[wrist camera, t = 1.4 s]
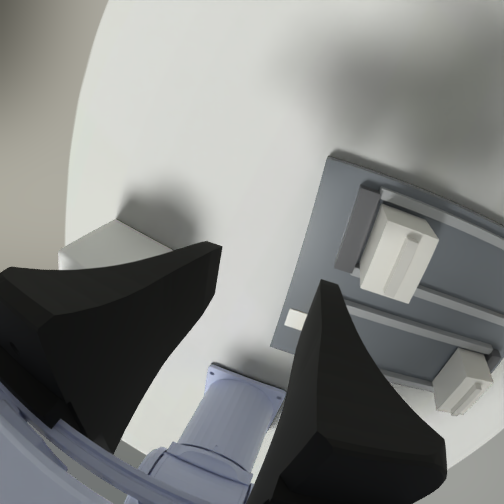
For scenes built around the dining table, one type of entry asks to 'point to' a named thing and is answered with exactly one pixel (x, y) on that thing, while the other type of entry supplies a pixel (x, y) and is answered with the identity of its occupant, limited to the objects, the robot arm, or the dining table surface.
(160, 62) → the dining table surface
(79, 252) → the medicine bottle
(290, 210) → the dining table surface
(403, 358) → the switch board
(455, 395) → the tab
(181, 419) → the dining table surface
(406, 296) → the tab
